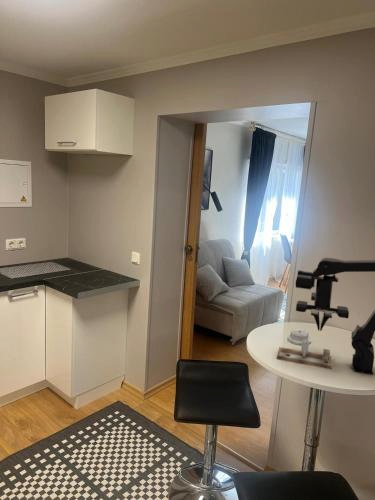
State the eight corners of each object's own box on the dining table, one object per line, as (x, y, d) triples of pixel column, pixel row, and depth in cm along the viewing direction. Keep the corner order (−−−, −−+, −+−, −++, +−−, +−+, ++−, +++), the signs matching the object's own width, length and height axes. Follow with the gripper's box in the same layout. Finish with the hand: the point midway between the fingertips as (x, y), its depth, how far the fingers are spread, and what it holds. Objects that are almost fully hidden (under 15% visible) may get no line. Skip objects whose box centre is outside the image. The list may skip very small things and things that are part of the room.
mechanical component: (313, 346, 158) (308, 337, 167) (314, 337, 157) (308, 328, 167) (289, 345, 159) (285, 335, 168) (290, 335, 158) (286, 326, 168)
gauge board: (331, 358, 146) (332, 348, 146) (331, 369, 138) (332, 358, 137) (279, 349, 153) (280, 339, 152) (276, 358, 145) (277, 348, 144)
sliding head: (307, 352, 147) (309, 340, 147) (307, 359, 142) (308, 346, 141) (301, 351, 148) (302, 339, 147) (300, 357, 143) (301, 345, 142)
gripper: (349, 289, 145) (344, 327, 148) (299, 283, 151) (296, 319, 154) (350, 296, 135) (346, 337, 137) (297, 290, 141) (294, 329, 144)
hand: (319, 330), depth 143 cm, fingers closed
